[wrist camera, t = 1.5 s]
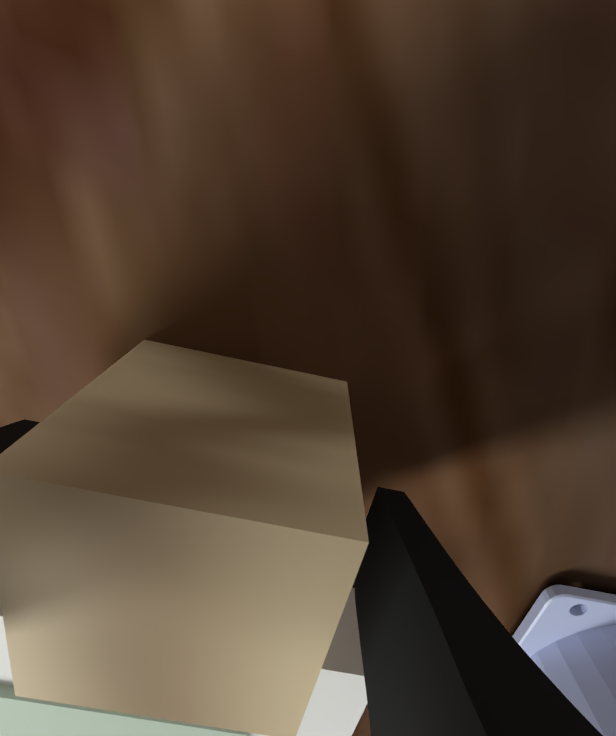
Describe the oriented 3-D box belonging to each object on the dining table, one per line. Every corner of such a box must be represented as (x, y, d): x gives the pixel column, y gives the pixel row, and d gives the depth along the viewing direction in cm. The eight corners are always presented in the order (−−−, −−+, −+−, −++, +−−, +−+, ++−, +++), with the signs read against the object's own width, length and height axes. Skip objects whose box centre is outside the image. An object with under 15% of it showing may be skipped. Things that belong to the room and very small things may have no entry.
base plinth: (368, 590, 13) (381, 691, 10) (286, 793, 18) (281, 891, 16) (-83, 510, 12) (-196, 597, 9) (-24, 748, 17) (-85, 844, 15)
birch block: (346, 380, 10) (368, 542, 5) (305, 527, 12) (294, 740, 7) (145, 338, 9) (-19, 469, 5) (138, 496, 11) (15, 696, 7)
